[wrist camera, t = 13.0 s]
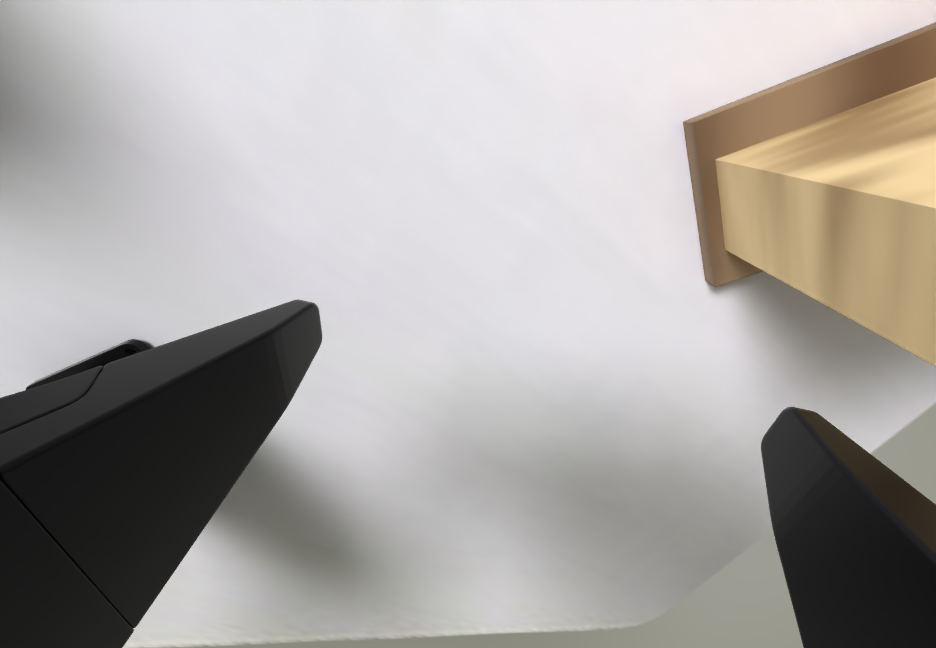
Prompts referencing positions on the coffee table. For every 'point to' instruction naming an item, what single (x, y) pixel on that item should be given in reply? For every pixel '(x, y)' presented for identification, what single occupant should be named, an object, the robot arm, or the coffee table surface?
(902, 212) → the oak T block
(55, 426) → the robot arm
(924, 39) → the walnut T outline
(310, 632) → the coffee table surface
